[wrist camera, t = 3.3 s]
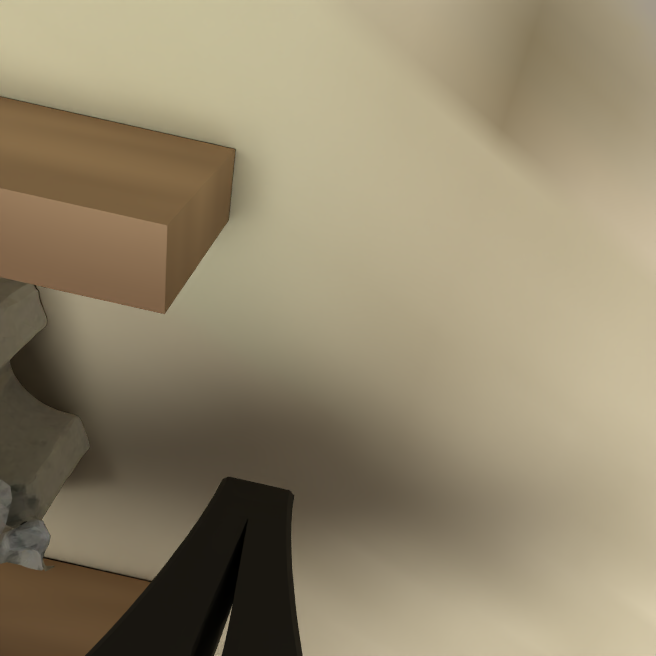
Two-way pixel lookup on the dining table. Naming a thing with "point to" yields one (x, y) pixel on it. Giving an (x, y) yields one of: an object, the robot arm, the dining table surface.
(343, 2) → the dining table surface
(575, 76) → the dining table surface
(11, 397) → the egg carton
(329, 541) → the dining table surface
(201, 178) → the bay
